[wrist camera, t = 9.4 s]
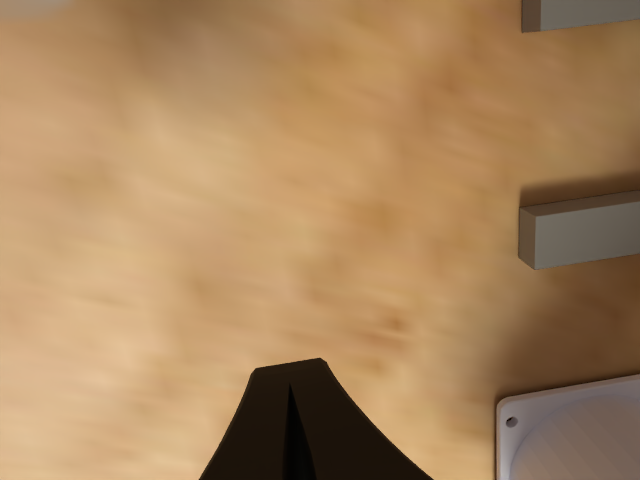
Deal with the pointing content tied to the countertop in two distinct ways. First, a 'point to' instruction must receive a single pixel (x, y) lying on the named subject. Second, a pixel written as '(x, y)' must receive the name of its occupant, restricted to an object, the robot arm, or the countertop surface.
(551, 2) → the cable guide
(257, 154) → the countertop surface
